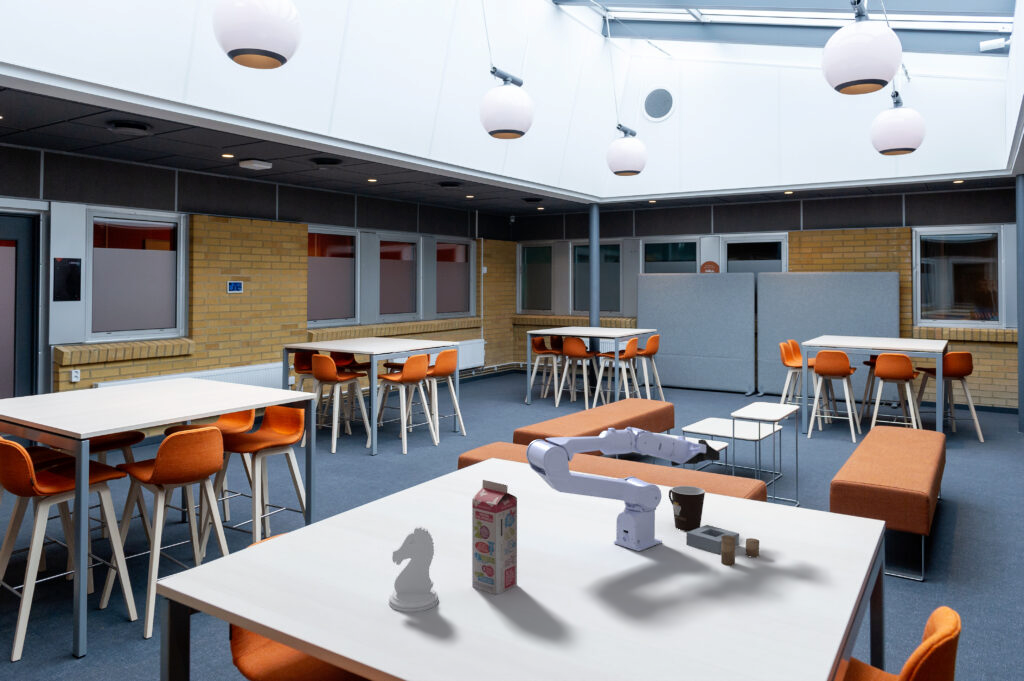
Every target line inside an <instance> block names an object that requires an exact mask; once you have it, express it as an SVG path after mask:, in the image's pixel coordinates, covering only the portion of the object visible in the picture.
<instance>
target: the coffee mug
mask: <svg viewBox="0 0 1024 681" xmlns="http://www.w3.org/2000/svg"><path fill="white" fill-rule="evenodd" d="M705 495H706V490H705V489H703V488H702V487H697V486H693V485H692V486H691V485H677V486H673V487H672V488H670V489H669V490H668V500H669V501H670V503H671V505H672V509H673V519H674V527H675V529H677V528H678V529H677V530H679V529H680V531H682V530H685V531H684V532H689V531H692V530H695V529H697V528H700V527H701V524H702V516H703V509H704V508H703V507H704V501H705Z"/></svg>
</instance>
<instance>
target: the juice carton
mask: <svg viewBox="0 0 1024 681" xmlns="http://www.w3.org/2000/svg"><path fill="white" fill-rule="evenodd" d="M508 488H509V487H508V485H507V484H504V483H499V482H495V481H492V480H491V481H490V480H486V479H482V486H481V488H480V490H478V492H476V494H475V495H474V496H473V497H472V498H471V499H472V506H471V507H472V508H471V509H472V512H471V513H472V515H471V520H472V521H471V523H472V526H471V527H472V528H471V529H472V530H471V534H472V535H471V536H472V537H471V540H472V541H471V542H472V543H471V544H472V545H471V546H472V547H471V548H472V550H471V552H472V553H471V554H472V558H471V559H472V561H471V562H472V563H471V564H472V567H471V568H472V569H471V570H472V571H471V572H472V574H471V576H472V577H471V580H472V581H471V582H472V584H471V585H472V588H475V589H477V590H481V591H484V592H486V593H490V594H492V595H496V596H497V595H499V594H502V593H503V592H505V591H508V590H509V589H511V588H514V587H516V586H517V585H518V497H517V496H516V495H513V494H511V493H509V492H508Z"/></svg>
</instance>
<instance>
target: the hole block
mask: <svg viewBox="0 0 1024 681" xmlns="http://www.w3.org/2000/svg"><path fill="white" fill-rule="evenodd" d="M724 535H730V536H734V537H735V548H736V547H739V546H740V533H739V532H736V531H732V530H729V529H724V528H721V527H718V526H713V525H709V524H706V525H703V526H700V528H697V529H695V530H692V531H686V542H685V543H686V545H687V546H690V547H693V546H694V548H696V549H697V548H698V549H700V550H703V549H704V550H703V551H707V552H711V553H714V554H717V555H720V554H721V547H722V536H724ZM738 545H739V546H738Z"/></svg>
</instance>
